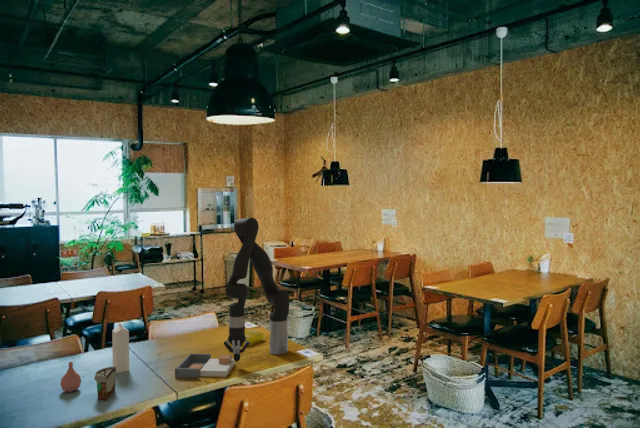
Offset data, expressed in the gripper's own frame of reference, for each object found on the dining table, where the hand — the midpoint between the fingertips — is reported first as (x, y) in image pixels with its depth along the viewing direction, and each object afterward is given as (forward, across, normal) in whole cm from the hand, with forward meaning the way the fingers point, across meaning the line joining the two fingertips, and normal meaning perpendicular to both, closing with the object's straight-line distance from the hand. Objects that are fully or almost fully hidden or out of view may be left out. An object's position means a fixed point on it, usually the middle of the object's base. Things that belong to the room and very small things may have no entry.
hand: (236, 361), depth 225 cm
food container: (+3, +47, +35) cm, 59 cm away
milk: (+3, +53, +6) cm, 54 cm away
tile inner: (0, +6, 0) cm, 6 cm away
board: (+3, +8, +4) cm, 10 cm away
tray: (+3, +20, +4) cm, 20 cm away
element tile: (+4, +4, -41) cm, 42 cm away
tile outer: (+3, +17, +8) cm, 19 cm away
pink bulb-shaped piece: (+3, +63, +30) cm, 70 cm away
